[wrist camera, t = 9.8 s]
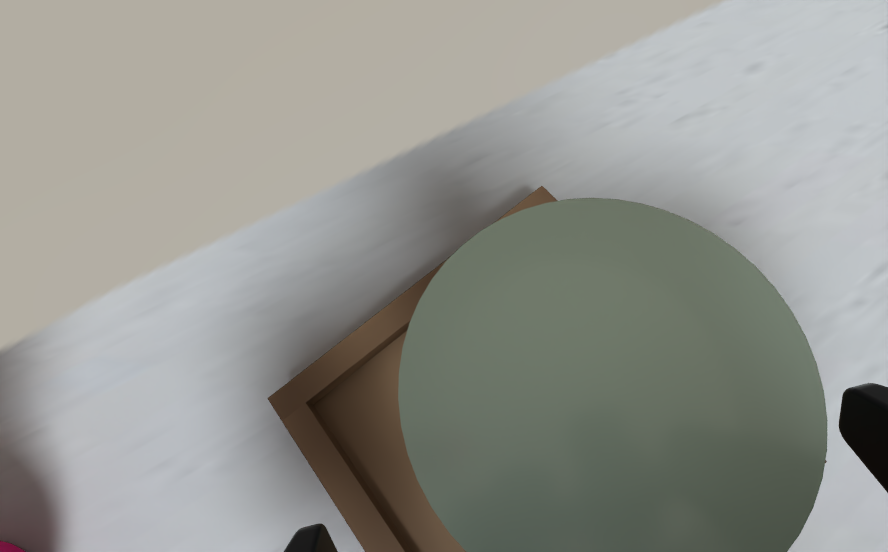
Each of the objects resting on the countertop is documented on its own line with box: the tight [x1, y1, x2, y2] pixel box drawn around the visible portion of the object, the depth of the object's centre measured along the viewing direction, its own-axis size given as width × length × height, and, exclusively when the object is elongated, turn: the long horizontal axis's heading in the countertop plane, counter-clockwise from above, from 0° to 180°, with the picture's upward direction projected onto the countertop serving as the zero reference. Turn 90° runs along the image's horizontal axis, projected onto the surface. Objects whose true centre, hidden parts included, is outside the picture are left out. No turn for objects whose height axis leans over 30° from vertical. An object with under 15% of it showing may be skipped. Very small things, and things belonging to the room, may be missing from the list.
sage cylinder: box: [398, 198, 827, 552], centre depth 11 cm, size 5×5×12 cm
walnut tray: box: [268, 186, 827, 552], centre depth 17 cm, size 13×13×2 cm
